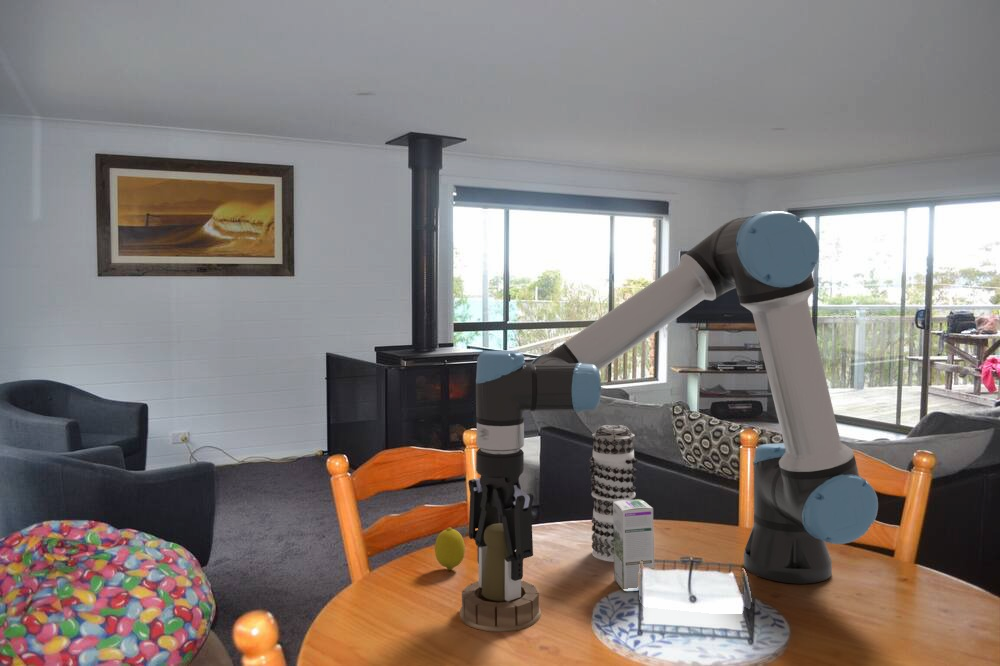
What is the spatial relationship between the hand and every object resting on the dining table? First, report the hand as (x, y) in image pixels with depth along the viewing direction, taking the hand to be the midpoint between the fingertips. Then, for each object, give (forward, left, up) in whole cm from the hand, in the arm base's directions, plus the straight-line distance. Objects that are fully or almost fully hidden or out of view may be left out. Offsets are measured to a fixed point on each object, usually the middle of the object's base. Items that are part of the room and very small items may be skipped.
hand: (499, 591), depth 124 cm
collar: (0, 0, -4) cm, 4 cm away
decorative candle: (+7, -34, -4) cm, 35 cm away
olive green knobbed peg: (0, 0, 0) cm, 0 cm away
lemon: (+21, -5, -4) cm, 22 cm away
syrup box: (-6, -25, -4) cm, 26 cm away
